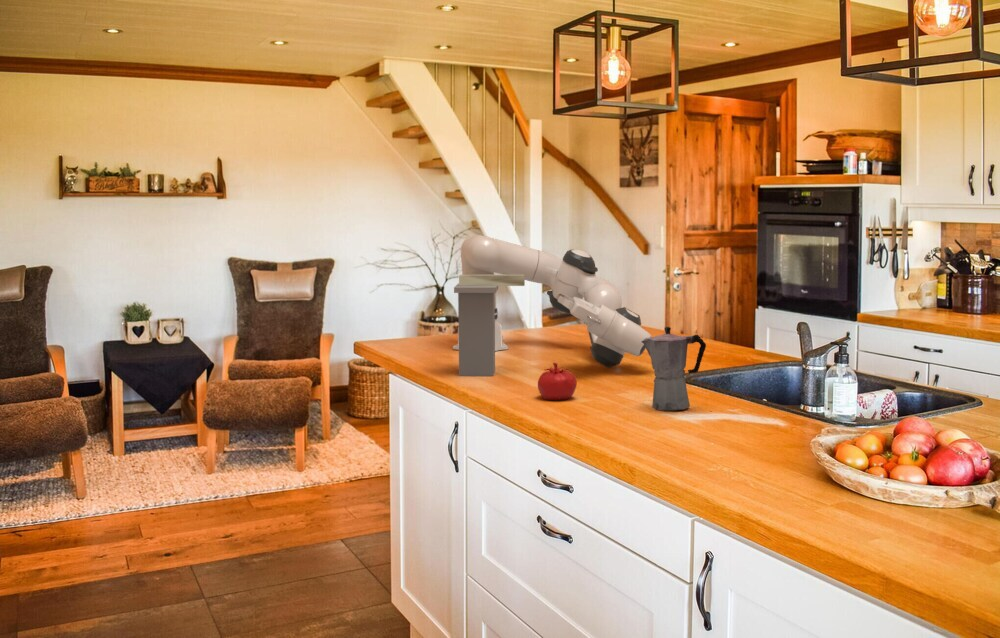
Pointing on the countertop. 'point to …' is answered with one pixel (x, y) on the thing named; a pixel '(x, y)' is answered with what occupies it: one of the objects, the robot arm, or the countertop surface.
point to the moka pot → (671, 368)
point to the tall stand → (476, 330)
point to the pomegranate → (557, 384)
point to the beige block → (491, 280)
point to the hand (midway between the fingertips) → (558, 296)
